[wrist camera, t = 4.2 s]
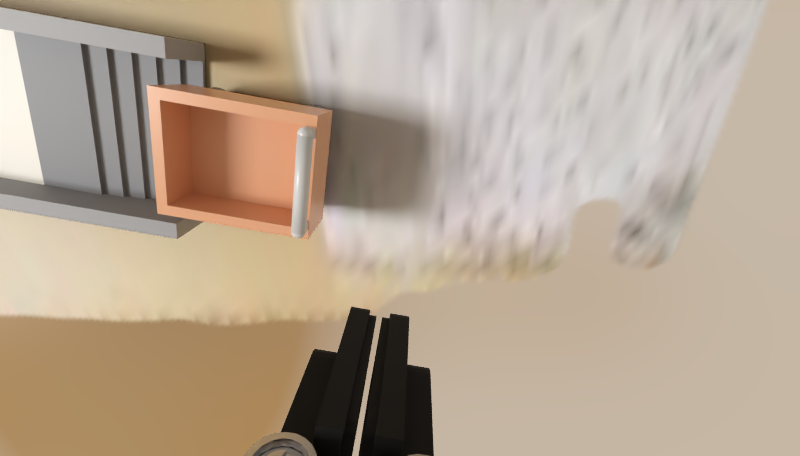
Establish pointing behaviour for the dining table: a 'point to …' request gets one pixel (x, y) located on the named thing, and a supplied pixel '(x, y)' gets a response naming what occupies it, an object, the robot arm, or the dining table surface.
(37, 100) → the drawer housing
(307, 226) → the orange drawer with handle
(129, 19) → the dining table surface
